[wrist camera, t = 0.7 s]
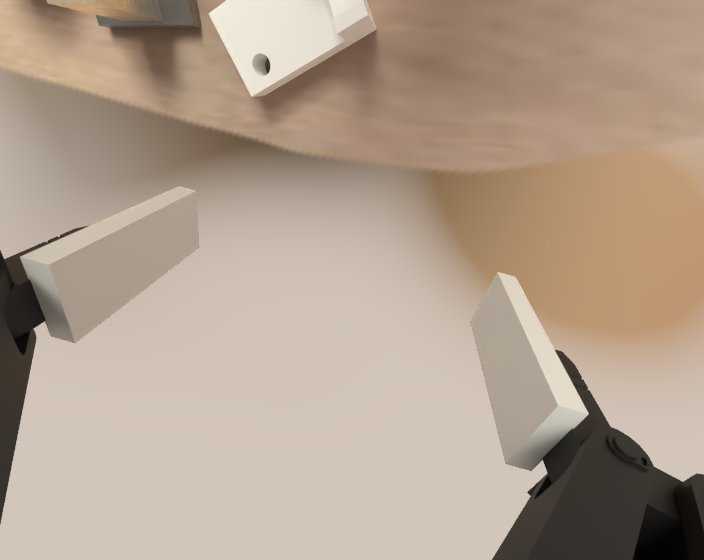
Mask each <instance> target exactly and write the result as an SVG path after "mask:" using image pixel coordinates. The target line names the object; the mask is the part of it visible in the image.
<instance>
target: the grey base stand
mask: <svg viewBox="0 0 704 560" xmlns="http://www.w3.org/2000/svg"><path fill="white" fill-rule="evenodd" d="M47 3H48V4H52V5H56V6H60V7H65V8H69V9H73V10H78V11H82V12H86V13H91V14H95V15H96V17H97V20H98V23H99V26H104V27H109V28H158V27H201V25H200V20H199V14H198V8H197V3H196V0H47Z"/></svg>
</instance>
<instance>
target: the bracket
mask: <svg viewBox="0 0 704 560" xmlns="http://www.w3.org/2000/svg"><path fill="white" fill-rule="evenodd" d="M209 16H210V17H211V19H212V21H213V23H214V25H215V27H216V29H217V31H218V33H219V35H220V37H221V39H222V41H223V43H224V45H225V47H226V48H227V50H228V52H229V54H230V56H231V58H232V60H233V62H234V64H235V66H236V68H237V70H238V72H239V74H240V76H241V77H242V79H243V81H244V83H245V85H246V87H247V89H248V91H249V93H250V95H251V97H256V96H265V95H267V94H268V93H270V92H272V91H274V90H275V89H277V88H279V87H280V86H282V85H284V84H285V83H287V82H289V81H290V80H292V79H294V78H296V77H297V76H299V75H301V74H302V73H304V72H306V71H307V70H309V69H311V68H312V67H314V66H316V65H318V64H319V63H321V62H323V61H324V60H326V59H328V58H329V57H331V56H333V55H334V54H336V53H338V52H340V51H341V50H343V49H345V48H346V47H348V46H350V45H351V44H353V43H355V42H356V41H358V40H360V39H362V38H363V37H365V36H367V35H368V34H370V33H372V32H373V31H375V30H377V29H376V26H375V23H374V20H373V18H372V15H371V12H370V9H369V6H368V3H367V0H226V1H225V2H224V3H222V4H221V5H220V6H218V7H217V8H216V9H214V10H213V11H212V12H210V13H209ZM267 59H269V61H270V71H269V73H268V72H267V70H266V66H265V65H266V61H267Z"/></svg>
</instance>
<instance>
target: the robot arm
mask: <svg viewBox="0 0 704 560" xmlns="http://www.w3.org/2000/svg"><path fill="white" fill-rule="evenodd" d="M198 248H199V238H198V216H197V193H196V191H195V190H192V189H188V188H184V187H180V186H178V187H176V188H174V189H172V190H169V191H167V192H165V193H163V194H160V195H158V196H156V197H154V198H151V199H149V200H147V201H145V202H142V203H140V204H138V205H136V206H133V207H131V208H129V209H127V210H124V211H122V212H120V213H118V214H115V215H113V216H111V217H108V218H106V219H104V220H102V221H99V222H97V223H95V224H93V225H90V226H86V227H81V228H76V229H73V230H71V231H69V232H66V233H64V234H62V235H60V237H55V238H53V239H50V240H49V241H48V242H44V243H41V244H39V245H36V246H34V247H32V248H30V249H27V250H25V251H23V252H20V253H18V254H16V255H14V256H11V257H9V258H6V259H4V258H3V256H2V253H1V251H0V523H1V518H2V512H3V507H4V502H5V497H6V491H7V487H8V482H9V476H10V471H11V466H12V461H13V456H14V451H15V446H16V440H17V435H18V430H19V425H20V420H21V415H22V410H23V404H24V399H25V394H26V389H27V384H28V379H29V374H30V369H31V364H32V358H33V353H34V348H35V343H36V334H35V331H34V329H33V328H35V327H36V326H38V325H40V324H41V323H43V322H44V321H45V323H46V325H47V328H48V330H49V333H50V336H52V337H55V338H59V339H63V340H66V341H70V342H73V343H76V342H77V341H79V340H80V339H81V338H82V337H84V336H85V335H86V334H88V333H89V332H90V331H91V330H93V329H94V328H95V327H97V326H98V325H99V324H101V323H102V322H103V321H104V320H106V319H107V318H108V317H110V316H111V315H112V314H113V313H115V312H116V311H117V310H119V309H120V308H121V307H122V306H124V305H125V304H126V303H128V302H129V301H130V300H132V299H133V298H134V297H135V296H137V295H138V294H139V293H141V292H142V291H143V290H145V289H146V288H147V287H148V286H150V285H151V284H152V283H154V282H155V281H156V280H157V279H159V278H160V277H161V276H162V275H164V274H165V273H167V272H168V271H169V270H170V269H172V268H173V267H174V266H175V265H177V264H178V263H179V262H181V261H182V260H183V259H185V258H186V257H187V256H189V255H190V254H191V253H192V252H194V251H195V250H196V249H198ZM471 326H472V330H473V333H474V337H475V342H476V346H477V350H478V354H479V358H480V362H481V366H482V370H483V374H484V378H485V382H486V386H487V390H488V394H489V398H490V402H491V407H492V410H493V414H494V419H495V422H496V426H497V431H498V435H499V439H500V443H501V447H502V451H503V455H504V459H505V463H506V464H509V465H512V466H516V467H519V468H523V469H527V470H530V471H532V470H533V469H534V468H535V467H536V466H537V465H538V464H539V463H540V462H541V461H542V460H543V461H544V464H545V467H546V469H547V473H548V474H547V475H545V476H544V477H543V478H542V479H541V480H540V481H539V482H538V483H537V484H536V485H535V486H534V487H533V488H532V489H530V490H529V491H528V494H529V495H530V496H531V497H530V499H529V500H528V502H527V504H526V505H525V507H524V508H523V510H522V512H521V513H520V515H519V517H518V518H517V520H516V522H515V523H514V525H513V526H512V528H511V530H510V531H509V533H508V535H507V536H506V538H505V540H504V541H503V543H502V544H501V546H500V548H499V549H498V551H497V553H496V554H495V556H494V557H493V559H492V560H704V475H702V474H695V475H693V476H692V477H690V478H689V479H687V480H686V481H684V482H682V481H680V480H678V479H676V478H674V477H672V476H670V475H668V474H667V473H665V472H663V471H661V470H659V469H657V468H655V467H654V466H653V464H652V462H651V460H650V458H649V456H648V455H647V454H646V453H645V451H644V450H643V449H642V448H641V447H640V446H639V445H638V444H637V443H636V442H635V441H634V440H632V439H631V438H630V437H629V436H627V435H625V434H624V433H622V432H620V431H619V430H617V429H614V428H611V427H610V425H609V424H608V422H607V420H606V418H605V416H604V415H603V413H602V411H601V410H600V408H599V406H598V404H597V403H596V401H595V399H594V398H593V396H592V394H591V392H590V391H589V390H587V389H588V387H587V385H586V384H585V382H584V380H582V379H581V378H582V377H581V375H580V373H579V371H578V370H577V368H576V366H575V365H574V364H573V362H572V361H571V360H570V359H569V358H568V357H567V356H566V355H565V354H564V353H563V352H561V351H558V350H554V348H553V346H552V344H551V342H550V340H549V339H548V337H547V335H546V333H545V331H544V330H543V328H542V326H541V324H540V322H539V320H538V318H537V316H536V314H535V313H534V311H533V309H532V307H531V305H530V303H529V301H528V299H527V298H526V296H525V294H524V292H523V290H522V288H521V286H520V284H519V283H518V281H517V279H516V277H514V276H511V275H507V274H503V273H500V272H497V274H496V276H495V278H494V279H493V281H492V283H491V285H490V287H489V289H488V290H487V292H486V294H485V296H484V298H483V299H482V301H481V303H480V305H479V307H478V309H477V310H476V312H475V314H474V316H473V318H472V320H471Z"/></svg>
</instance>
